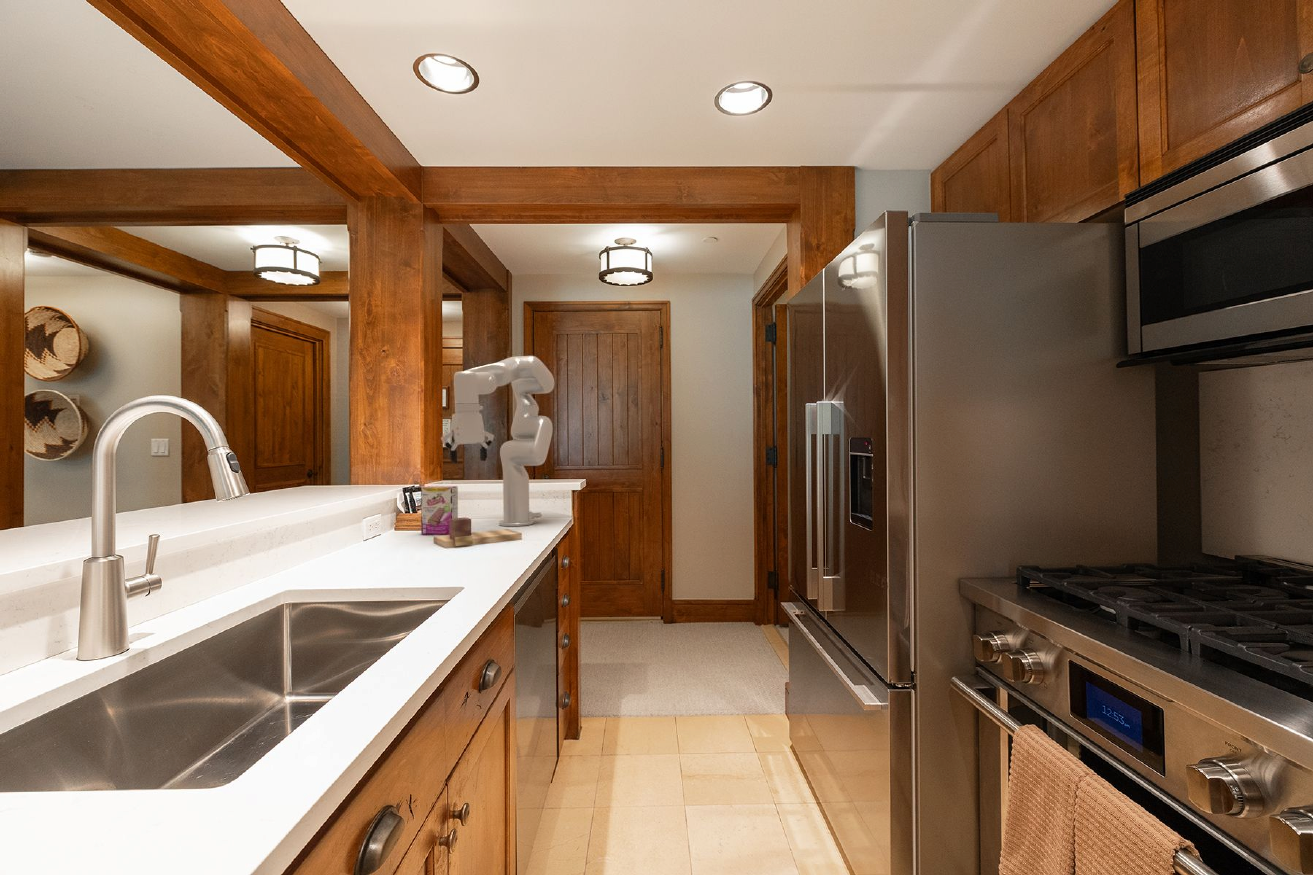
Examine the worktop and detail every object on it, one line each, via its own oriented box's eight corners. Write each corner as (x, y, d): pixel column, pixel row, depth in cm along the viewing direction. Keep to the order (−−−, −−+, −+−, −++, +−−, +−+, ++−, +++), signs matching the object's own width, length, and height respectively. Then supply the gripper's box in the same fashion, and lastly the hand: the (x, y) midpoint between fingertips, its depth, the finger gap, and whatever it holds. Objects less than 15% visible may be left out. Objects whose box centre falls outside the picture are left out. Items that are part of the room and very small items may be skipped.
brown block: (465, 541, 189) (465, 517, 189) (472, 544, 184) (472, 519, 184) (449, 543, 186) (449, 518, 186) (456, 546, 181) (455, 520, 181)
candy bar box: (420, 535, 206) (420, 486, 206) (427, 532, 211) (427, 485, 211) (452, 535, 205) (451, 486, 205) (458, 533, 210) (458, 485, 210)
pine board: (506, 534, 204) (506, 528, 204) (521, 539, 195) (521, 533, 195) (433, 542, 190) (433, 536, 190) (445, 548, 181) (445, 541, 181)
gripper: (488, 409, 207) (489, 459, 208) (436, 410, 197) (438, 462, 197) (496, 408, 201) (498, 460, 202) (444, 409, 191) (446, 464, 191)
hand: (469, 461), depth 200 cm, fingers open, 9 cm apart
